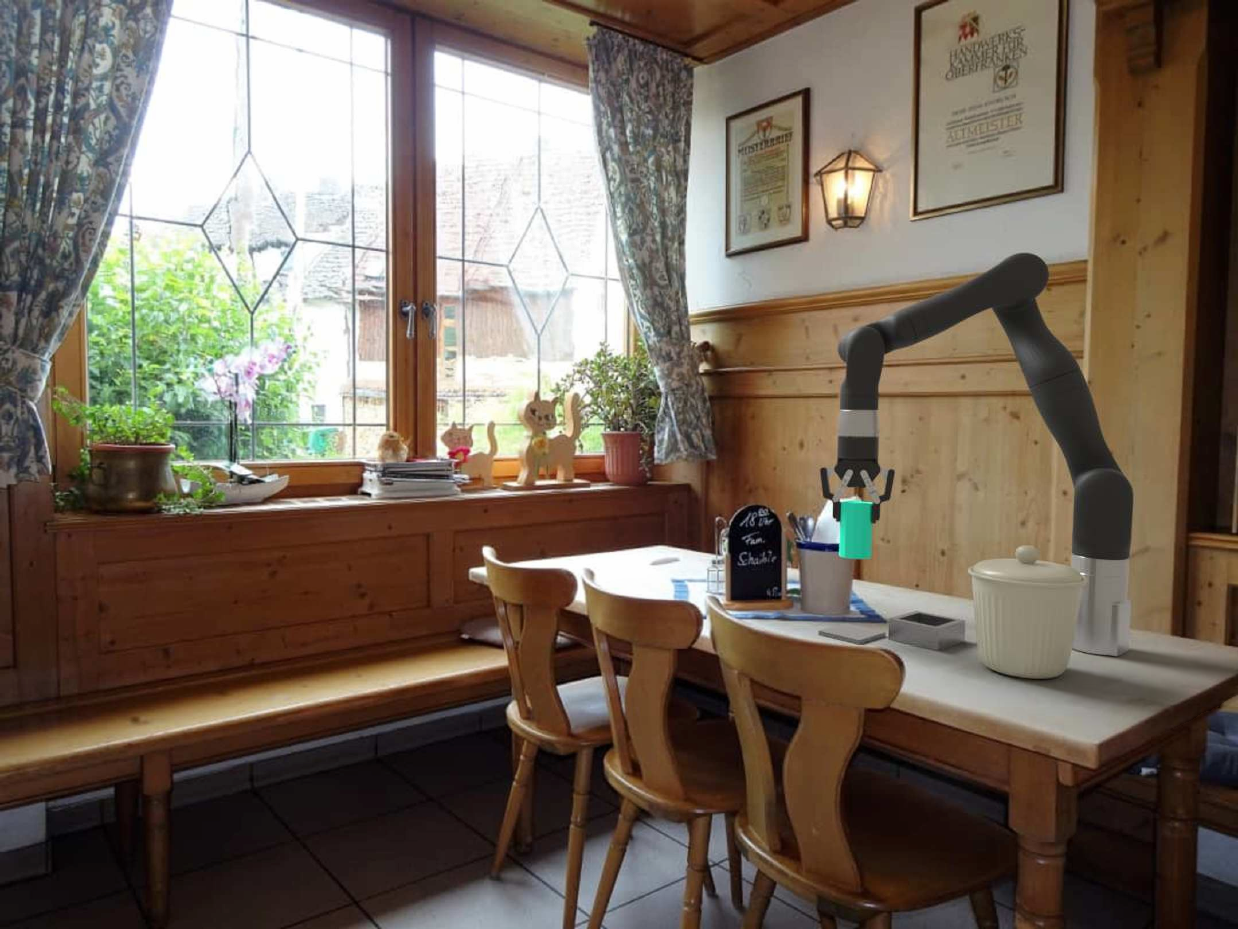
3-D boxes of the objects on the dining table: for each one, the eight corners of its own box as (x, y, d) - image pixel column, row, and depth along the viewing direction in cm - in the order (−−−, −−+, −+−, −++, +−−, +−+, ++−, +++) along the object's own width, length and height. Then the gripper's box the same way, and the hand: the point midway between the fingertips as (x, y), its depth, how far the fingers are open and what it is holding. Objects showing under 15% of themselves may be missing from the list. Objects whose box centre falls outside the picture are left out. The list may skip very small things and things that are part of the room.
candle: (857, 560, 161) (859, 496, 160) (832, 555, 166) (833, 493, 165) (877, 557, 164) (879, 494, 164) (852, 552, 169) (854, 491, 168)
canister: (1078, 695, 132) (1084, 558, 131) (954, 674, 142) (959, 547, 141) (1087, 666, 148) (1093, 544, 146) (974, 649, 157) (979, 534, 156)
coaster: (885, 636, 166) (885, 632, 166) (859, 644, 160) (859, 640, 160) (845, 627, 172) (845, 623, 172) (818, 634, 166) (818, 630, 166)
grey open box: (964, 641, 163) (965, 620, 162) (937, 650, 156) (938, 629, 156) (915, 630, 170) (916, 610, 170) (888, 639, 163) (888, 618, 163)
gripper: (898, 434, 165) (895, 521, 166) (821, 433, 169) (819, 518, 170) (898, 435, 158) (895, 526, 159) (817, 433, 162) (815, 522, 163)
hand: (855, 521), depth 165 cm, fingers closed on candle, 6 cm apart
